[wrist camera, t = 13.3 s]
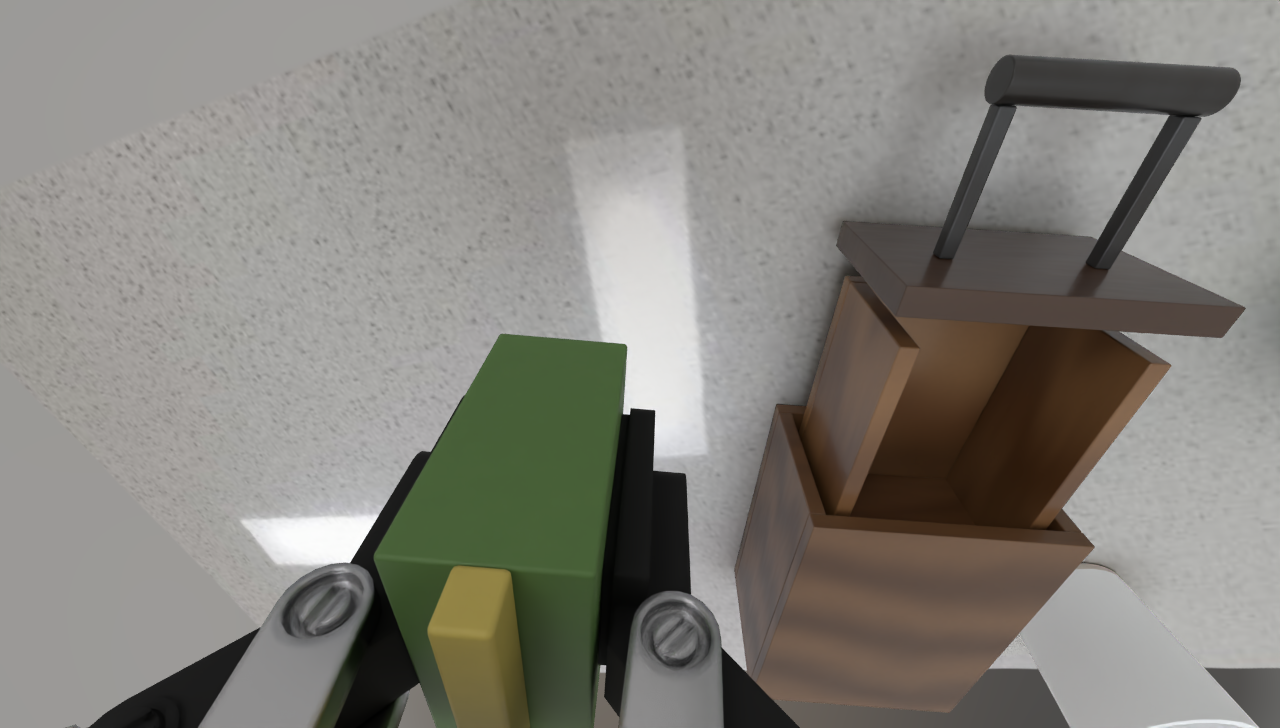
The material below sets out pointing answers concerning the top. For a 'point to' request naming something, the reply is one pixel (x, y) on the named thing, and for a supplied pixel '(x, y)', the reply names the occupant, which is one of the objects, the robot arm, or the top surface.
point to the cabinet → (881, 592)
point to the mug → (1121, 661)
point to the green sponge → (512, 539)
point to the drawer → (1004, 326)
